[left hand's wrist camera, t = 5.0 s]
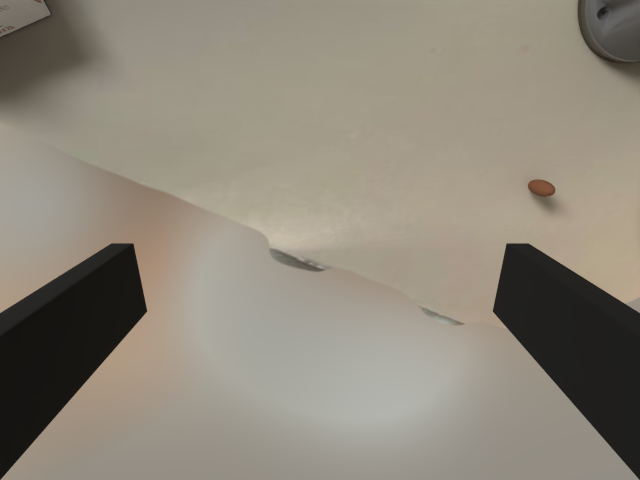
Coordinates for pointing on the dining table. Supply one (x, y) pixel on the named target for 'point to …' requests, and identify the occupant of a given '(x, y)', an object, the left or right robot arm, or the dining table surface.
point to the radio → (20, 14)
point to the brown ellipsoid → (541, 188)
